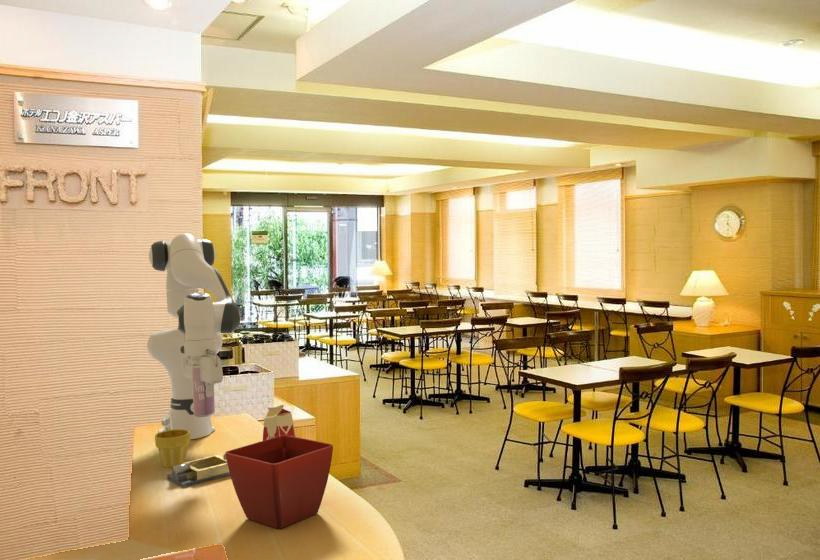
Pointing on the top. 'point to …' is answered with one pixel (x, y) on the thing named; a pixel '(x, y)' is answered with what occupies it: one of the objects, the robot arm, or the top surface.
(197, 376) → the beverage can
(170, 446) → the plant pot
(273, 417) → the milk carton
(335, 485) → the top surface
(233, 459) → the plant pot
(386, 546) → the top surface
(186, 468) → the grey and tan tray
